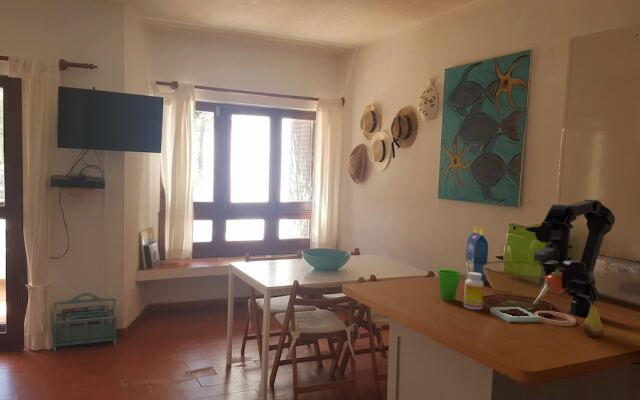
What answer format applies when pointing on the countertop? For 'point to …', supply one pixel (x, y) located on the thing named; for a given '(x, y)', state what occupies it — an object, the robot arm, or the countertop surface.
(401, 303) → the countertop surface
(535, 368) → the countertop surface
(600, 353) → the countertop surface
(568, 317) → the saucer ring
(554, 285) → the tomato
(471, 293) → the supplement bottle
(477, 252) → the blue food package
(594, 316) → the fruit
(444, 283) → the cup
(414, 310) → the countertop surface
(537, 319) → the tray
